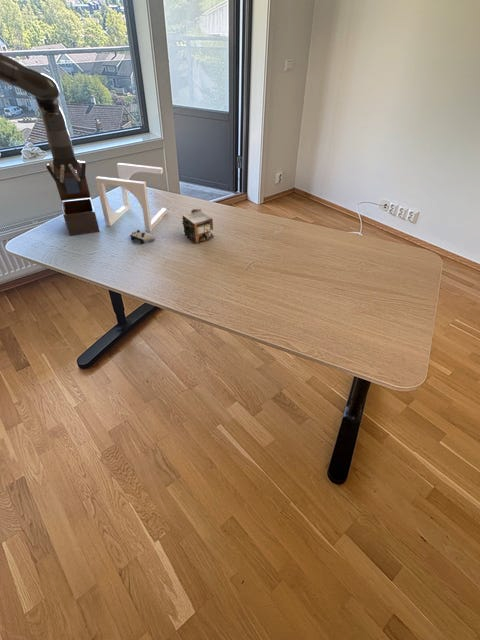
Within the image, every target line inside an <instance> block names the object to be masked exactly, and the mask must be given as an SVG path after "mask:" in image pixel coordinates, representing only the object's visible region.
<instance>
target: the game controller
mask: <svg viewBox="0 0 480 640" xmlns="http://www.w3.org/2000/svg"><path fill="white" fill-rule="evenodd" d="M155 236H156V235H153V234H151V233H147V232H146V231H145V232H144V231H143V230H140V229H135V230H133V231H132V232H131V233H130V235H129V237H130V240H131V241H135V240H136V241H139V242H140V244H141V245H143V244H146V243H148V242H152V241H154V240H156V237H155Z"/></svg>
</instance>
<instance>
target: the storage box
mask: <svg viewBox="0 0 480 640" xmlns="http://www.w3.org/2000/svg"><path fill="white" fill-rule="evenodd" d="M60 201H61V208H62V215H63V218H64V222H65V226H66V229H67V231H68V235H69V237H72V236H73V237H74V236H80V235H87V234H95V233H100V231H101V230H100V227H99V222H98V218H97V215H96V211H95V207H94V204H93V200H92V198H91V197H88V198H79V199H70V200H60Z"/></svg>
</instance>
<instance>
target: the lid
mask: <svg viewBox="0 0 480 640" xmlns="http://www.w3.org/2000/svg"><path fill="white" fill-rule="evenodd" d="M77 160H78V161H81V162H82V161H83V160H82V159H77ZM51 163H53V161H52V162H51V161H50V162H49V164H51ZM75 170H76V171H77V173H78V175H81V168H80V166H79V164H78V165H77V167H76V169H75ZM53 171H54V173H55V174H56V176H57V177H60V171H59V170H58V169H57V168H56V167H55V166H54V170H53ZM65 178H76V177H75V176H74V174H73V173H64V179H65ZM54 182H55V186H56V189H57V192H58V195H59V198H60V201H68V200H77V199H86V198H91V193H90V189H89V188H90V187H89V184H88V180H87V177H86V175H85V179H82V180H81V184H82V189H81V191H80V193H73V194H68V193H67V192H65V191H63V189H62V185H61V183H60V182H58V181H57V182H56V181H55V180H54Z"/></svg>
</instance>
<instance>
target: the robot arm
mask: <svg viewBox="0 0 480 640" xmlns="http://www.w3.org/2000/svg"><path fill="white" fill-rule="evenodd" d="M0 81H1V82H3V83H5V84H7V85H10V86H13V87H15V88H18V89H20V90H22V91H24V92H26V93H28V94H30V95H32V96H34V98H35V100H36V103H37V106H38V109H39V111H40V115H41V119H42V122H43V127H44V129H45V135H46V139H47V144H48V146H49V151H50V153H51V157H52V159H53V160H52V162H53V163H51V164H50V163H46V164H45V166H46V169H47V171H48V173H49V174H50V176H51V177H52V179H53V181H54V182H55V181H56V182H57V181H58V182H60V183H61V185H62V189H63V191H65V192H67V190H66V186H65V183H64V173H73V174H74V176H75V177H76V179H77V183H78V187H79V191H81V189H82V184H81V180H82V179H85V176H86V170H87V169H86V168H87V164H86V161H85V160H82V162H81V161H78V160H79V159H77V158H76V155H75V150H74V147H73V146H74V145H73V142H72V138H71V134H70V132H69V130H68V126H67V121H66V118H65V114H64V112H63V110H62V109H61V107H60V102H59V99H58V98H59V96H60V88H59V86H58V84H57V82H56V81H55V80H54V79H53V78H52V77H51V76H49V75H47V74H45V73H42V72H41V73H40V72H38V71H36V70H34V69H32V68H30V67H27V66H25V65H24V64H22V63H21V62H19V61H17V60H16V59H13V58H11V57H10V56H7V55H5V54H4V53H2V52H0ZM78 164H79V166H80V168H81V175H78V173H77V171H76V170H75V169H76V167H77V165H78ZM54 166H55V167H56V168H57V169H58V170H59V171H60V177H57V176H56V174H55V173H54V171H53V170H54ZM56 182H55V183H56Z"/></svg>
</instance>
